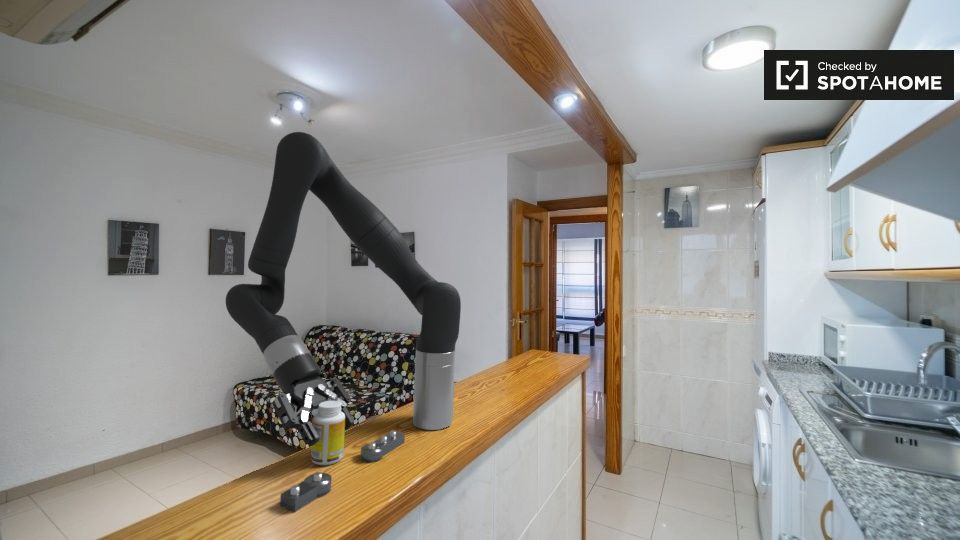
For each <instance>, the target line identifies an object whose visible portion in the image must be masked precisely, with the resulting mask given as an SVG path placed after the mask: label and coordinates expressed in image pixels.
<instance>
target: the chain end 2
mask: <svg viewBox="0 0 960 540" xmlns="http://www.w3.org/2000/svg"><path fill="white" fill-rule="evenodd" d="M405 436H406V433H403V432H399V431H397V430H390V432H388V433H386V434H385V435H381V436H380V438H377V439H375V440H374V441H371V442H369V443H366V444H365V445H362V446H361V448H360V460H361V461H362V463H363V462H364V463H376V462H379V461H381V460H382V459H383V458H384V456H386V455H387V454H388V453H390V452H392V451H393V450H394V449H397V448H398V447H399V446H401V445H403V444H405V442H406V441H405V439H406V438H405Z"/></svg>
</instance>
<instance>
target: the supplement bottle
mask: <svg viewBox="0 0 960 540" xmlns="http://www.w3.org/2000/svg"><path fill="white" fill-rule="evenodd" d="M312 426H313V427H314V429H315V431H316V433H317V434H318V436H319V441H318V442H317V443H316V444H315V445H313V446H311V462H312V463H313V464H315V465H317V466H318V465H319V466H330V465H335V464H337V463H338V462H340V461H341V460H342V459H343V457H344V453H345V452H344V451H345V431H346V430H345V414H344V413H343V412H341V402H339V401H329V400H327V401H325V402H322V403H320V404H319V406H318V409H317V413H316V414H315V415H314V416H313V418H312Z"/></svg>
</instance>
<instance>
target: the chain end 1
mask: <svg viewBox="0 0 960 540" xmlns="http://www.w3.org/2000/svg"><path fill="white" fill-rule="evenodd" d="M331 491H332V475H331V474H329V473H326V472H319V471H318V472H315V473H312V474H310V475H307V477H305V479H304V481H302V482H299V483H297V484H295V485H292V486H290V488H289V489H287V490H286V491H283V492H282V493H280V498H279V499H280V502H279V503H280V504H279V507H280V508H283V509H285V510H287V511H291V512H293V513H296V512H298V511H299V510H301V509H302V508H303V507H306V506H307V505H309V504H310V503H311V502H313V501H315V500H316V499H319V498H321V497H324V496H327V495H328V494H329V493H330V492H331Z"/></svg>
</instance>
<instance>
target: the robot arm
mask: <svg viewBox="0 0 960 540" xmlns="http://www.w3.org/2000/svg"><path fill="white" fill-rule="evenodd" d="M273 167H274V168H273V175H272V180H271V181H272V182H271V187H270V191H269V196H268V200H267V203H266V207H265V210H264V213H263V217H262V220H261V222H260V225H259V228H258V231H257V235H256V237H255V241H254V242H253V246H252V249H251V252H250V256H249V258H248V262H247V267H248V269H249V271H250V272H252V273H254V274H256V275H259V276H261V282H260V284H259V283H258V284H257V283H256V284H255V283H253V284H252V283H239V284H235V285H234V286H232V287H230V289H229V290H228V291H227V293H226V295H225V307H226V311H227V312H228V315H229V316H230V317H231V318H232V319H233V320H234V322H235V323H236V324H237V325H239V326H240V328H242V329H243V330H244V331H245V332H246V333H247V334H248V335H249V336H250V337H251V338H253V340H254V341H255V343H256V345H257V346H258V348H259V350H260V352H261V353H262V355H263V357H264V359H265V363H266V366H267V367H268V369H269V370H270V373H271V374H272V376H273V378H274V380H275V382H276V384H277V385H278V387H279V388H280V390H281V392H280V393H279V394H278V395H277V396H276V398H274V400H273V401H272V406H273V408H274V411H275V412H276V415H277V416H278V419H279V421H280V424H281V426H282V427H283V429H284V430H285V431H288V430H290V429H295V430H297V431H298V432H299V435H300V436H301V438H302V440H303V442H304V443H305V444H306V445H308V446H309V447H310V448H312V446H313V445H315V444H316V443H317V442H318V441H319V436H318V434H317V433H316V431H315V429H314V427H313V423H312V422H311V421H310V420H309V414H310V412H312V411H314V410H318V406H319V404H320V403H322V402H325V401H339V402H341V412H343V413H344V414H345V431H347V430H350V429H351V428H352V427H353V425H354V424H355V421H354V418H353V416H352V415H351V413H350V411H349V409H348V408H347V406H348V405H349V403H350V402H351V401H352V397H351V396H350V395H349V393H348V392H347V390H346V389H345V387H344V386H343V385H342V383H341V381H340V380H339V379H338V378H337V377H333V378H332V379H331V380H330V381H327V382H326V381H325V380H324V379H323V378H322V371H321V370H322V369H321V368H320V367H319V364H318V363H317V362H316V359H314V357H313V355H312V353H311V352H310V350H309V349H308V347H307V345H306V343H304V340H302V339H301V338H300V336H299V335H298V333H297V332H296V330H295V328H294V327H293V324H292V323H291V322H290V321H289V319H288V318H287V317H285V316H283V315H280V314H279V315H278V314H277V313H279V312H280V310H281V309H282V307H283V305H284V302H285V294H286V293H285V291H286V289H285V288H286V287H285V286H286V285H285V284H286V269H287V267H288V263H289V262H290V258H291V256H292V252H293V248H294V245H295V241H296V237H297V233H298V226H299V222H300V216H301V212H302V210H303V205H304V202H305V199H306V197H307V195H308V192H309V191H310V192H311V193H312V194H313V195H314V196H315V197H317V198H318V200H320V202H322V204H323V205H324V206H325V207H327V209H328V211H329V212H330V214H331V215H332V216H333V218H334V220H335V221H336V222H337V223H338V225H339V226H340V228H341V229H342V231H344V234H345V235H346V236H347V237H348V238H349V239H350V240H351V242H352V243H353V244H354V245H355V246H356V247H357V248H358V249H359V251H361V252H362V253H363V254H364V256H366V257H367V258H368V260H370V261H371V262H372V263H373V264H374V265H375V266H376V267H378V269H380V271H381V272H382V273H384V274H385V275H386V276H387V277H388V278H390V279H391V280H392V281H393V283H395V284H396V286H398V288H399V289H400V290H401V291H402V292H403V294H404V295H405V296H406V298H407V299H408V301H410V303H411V305H412V306H413V307H414V308H415V310H416V311H417V313H418V314H420V315H421V325H420V326H421V328H420V333H419V335H418V336H417V338H416V341H415V358H414V359H415V361H414V362H415V363H414V364H415V365H414V366H415V367H414V384H413V385H414V389H413V405H412V406H413V407H412V408H413V409H412V410H413V411H412V425H413V426H414V427H416V428H417V429H421V430H426V431H437V430H438V431H439V430H443V428H444V429H446V427H447V428H448V426H449V427H451V425H452V424H453V422H452V421H453V419H454V418H453V417H454V399H455V398H454V397H455V362H456V361H455V358H456V357H455V355H456V354H455V353H456V343H457V341H458V338H459V333H460V324H461V309H462V307H461V305H462V304H461V303H462V302H461V296H460V294H459V291H458V289H457V288H456V287H455V286H454V285H452V284H451V283H448V282H442V281H440V282H439V281H437V279H435V278H434V277H433V276H432V275H431V274H429V272H428V271H427V270H426V269H424V268H423V266H422V265H421V264H420V263H419V262H418V261H417V259H416V257H415V256H414V254H413V252H412V251H411V249H410V247H409V244H408V243H407V241H406V239H405V238H404V236H403V234H402V233H401V232H400V231H399V230H398V229H397V227H396V226H395V225H394V224H393V223H392V222H391V221H390V219H389V218H388V217H387V216H386V215H385V213H383V211H381V210H380V208H379V207H377V206H376V205H375V204H374V203H373V202H372V201H371V200H370V199H368V197H366V196H365V195H364V194H363V193H362V192H360V191H359V189H357V188H355V186H353V184H351V182H350V181H348V179H347V178H346V177H345V175H344V174H343V172H342V171H341V170H340V169H339V168H338V167H337V165H336V164H335V163H334V160H332V158H331V157H330V155H329V154H328V152H327V150H326V149H325V147H324V146H323V145H322V143H321V142H320V141H319V140H318V139H317V138H316V137H315V136H313V135H311V134H309V133H307V132H304V131H293V132H290V133H287V134H286V135H284V137H282V138H281V139H280V140H279V142H278V143H277V147H276V153H275V160H274V166H273ZM328 398H329V400H328ZM292 405H293V406H295V408H293V406H292ZM452 418H453V419H452ZM451 423H452V424H451Z"/></svg>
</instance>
